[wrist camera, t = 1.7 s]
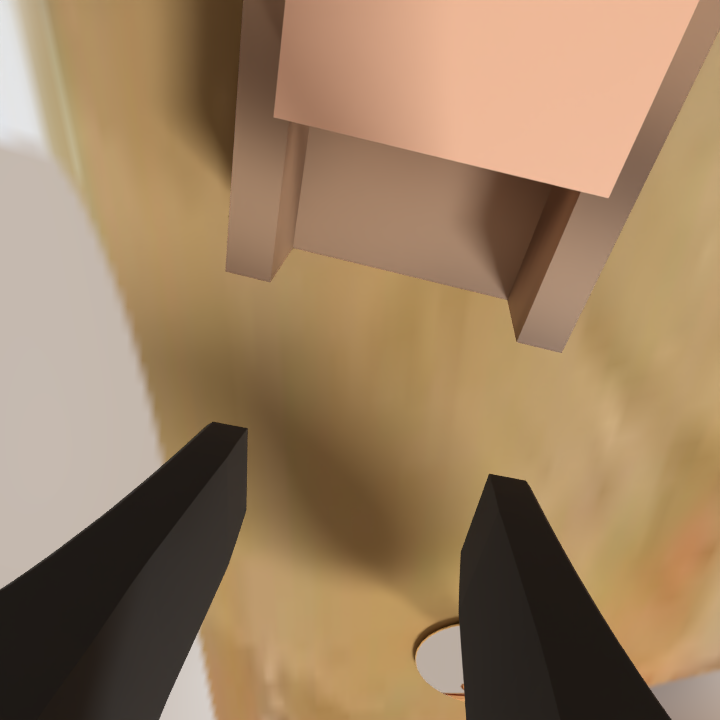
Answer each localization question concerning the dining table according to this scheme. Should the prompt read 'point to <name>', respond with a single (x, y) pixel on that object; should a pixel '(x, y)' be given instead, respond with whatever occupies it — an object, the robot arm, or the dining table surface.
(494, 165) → the block
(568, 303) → the shallow wooden tray
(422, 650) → the wineglass
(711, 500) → the dining table surface
